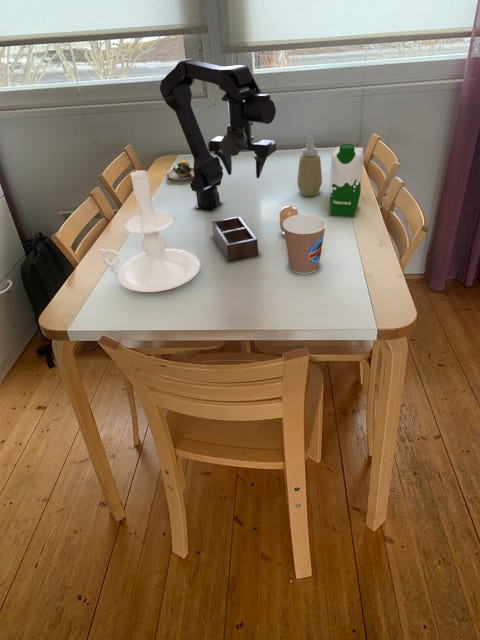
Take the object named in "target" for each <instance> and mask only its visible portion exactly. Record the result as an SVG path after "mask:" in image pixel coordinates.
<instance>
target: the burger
mask: <svg viewBox="0 0 480 640" xmlns="http://www.w3.org/2000/svg"><path fill="white" fill-rule="evenodd" d="M185 158H186V157H185V156H184V159H183V160H181V161H178V162H177V167H176V166H173V167H172V170H170V171H169V172H167V174H166V177H167V178H169V179H171V180H174V181H186V180H190V179H192V180H193V179H194V178H195V175H194V171H193V167H190V166H191V165H190V163H189V161H188V160H186V159H185Z"/></svg>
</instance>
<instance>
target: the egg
mask: <svg viewBox="0 0 480 640" xmlns="http://www.w3.org/2000/svg"><path fill="white" fill-rule="evenodd" d="M294 215H299V211H298V208H297V207H295V206H294V205H285V206H283V207H282V208H281V209H280V211H279V218H278V219H279V228H280V230H281V232H282V237H284V238H285V231H284V227H283V222H284V220H285V219H287V218H289V217H291V216H294Z"/></svg>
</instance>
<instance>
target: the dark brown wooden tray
mask: <svg viewBox="0 0 480 640" xmlns="http://www.w3.org/2000/svg"><path fill="white" fill-rule="evenodd" d="M211 225H212V235H213V239H214V241H215V243H216V244H217V246H218V247H219V249H220V250H221V252H222V254H223V256H224V257H225V259H226V260H227V262H228V263H234V262H238V261H242V260H243V261H244V260H248V259H251V258H256V257H259V246H258V245H259V242H258V241H259V240H258V238H257V236H256V235H255V234H254V233H253V232H252V230H251V229H250V228H249V226H248V225H247V224H246V222H245V221H244V220H243V218H242V217H241V216H239V215H238V216H232V217H227V218H224V219H219V220H218V219H217V220H212V221H211Z"/></svg>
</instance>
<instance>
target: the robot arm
mask: <svg viewBox="0 0 480 640" xmlns="http://www.w3.org/2000/svg"><path fill="white" fill-rule="evenodd" d="M195 80H198V81H202V82H206V83H209V84H214V85H216V86H217V87H218V88H219V90H221V91H222V92H225V94H224V95H223V96H222V97H221V101H222V102H227V108H228V120H229V121H228V122H229V124H228V125H227V127H226V134H225V135H224V136H221V135H220V136H219V135H217V136H215V137H214V138H212V139H210V140H209V142H208V144H207V143H206V141H205V138H204V135H203V133H202V130H201V128H200V126H199V123H198V121H197V117H196V115H195V113H194V110H193V107H192V96H193V92H192V89H191V87H192V86H193V84H194V82H195ZM159 92H160V95H161V96H162V98H163V100H164V102H165V104H166V105H167V106H168V107H169V108H170V109H171V110H172V111H174V112H175V115H176V117H177V120H178V122H179V125H180V128H181V129H182V133H183V135H184V138H185V141H186V142H187V145H188V148H189V150H190V152H191V155H192V157H193V167H192V168H193V171H194V175H195V178H194V179H193V178H192V180H191V182H190V183H189V186H190V188H191V191H192V192H195V196H196V202H197V205H196V206H195V207H194V208H195V209H196V210H203V211H209V212H213V211H214V210H215V209H217V208H218V207H220V206H221V205H222V201H220V192H219V191H218V186H221V184H222V181H223V176H224V171H223V170H224V168H225V171H226V173H227V175H228V176H231V175H232V172H233V171H232V169H233V165H232V164H233V163H232V162H233V161H232V157H236V156H238V155H239V154H240V152H241V151H253V152H254V154H255V155H254V156H253V159H254V160H255V175H256V179H259V178H260V177H261V174H262V171H263V169H264V165H265V162H266V160H267V158H268V157H269V156H271V155H272V154H273V153H275V152H276V151H277V143H276V142H275V140H273V139H261V140H259V141H258V142H253V141H255V136H253V135H252V126H254V123H258V124H265V125H269V124H272V122H273V121H274V119H275V117H276V112H277V107H276V105H275V102H274V101H273V100H272V99H271V95H270V94H269V93H264V94H262V91H261V89H260V87H259V85H258V83H257V82H256V80H255V78H254V76H253V74H252V72H251V70H250V68H249V67H248V66H247V65H243V64H240V65H238V64H237V65H228V66H221V65H218V64H212V63H209V62H204V61H199V60H196V59H194V58H188V59H182V60H180V61H179V62H177V64H176V65H175V67H174V68H173V69H172V70H171V71H170V72H168V74H167V75H165V77H164V78H162V79H161V81H160V85H159ZM210 152H212V154H211V153H210ZM213 155H214V156H213ZM220 160H221V161H220ZM221 163H222V164H223V166H224V168H223V166H222V164H221Z"/></svg>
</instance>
